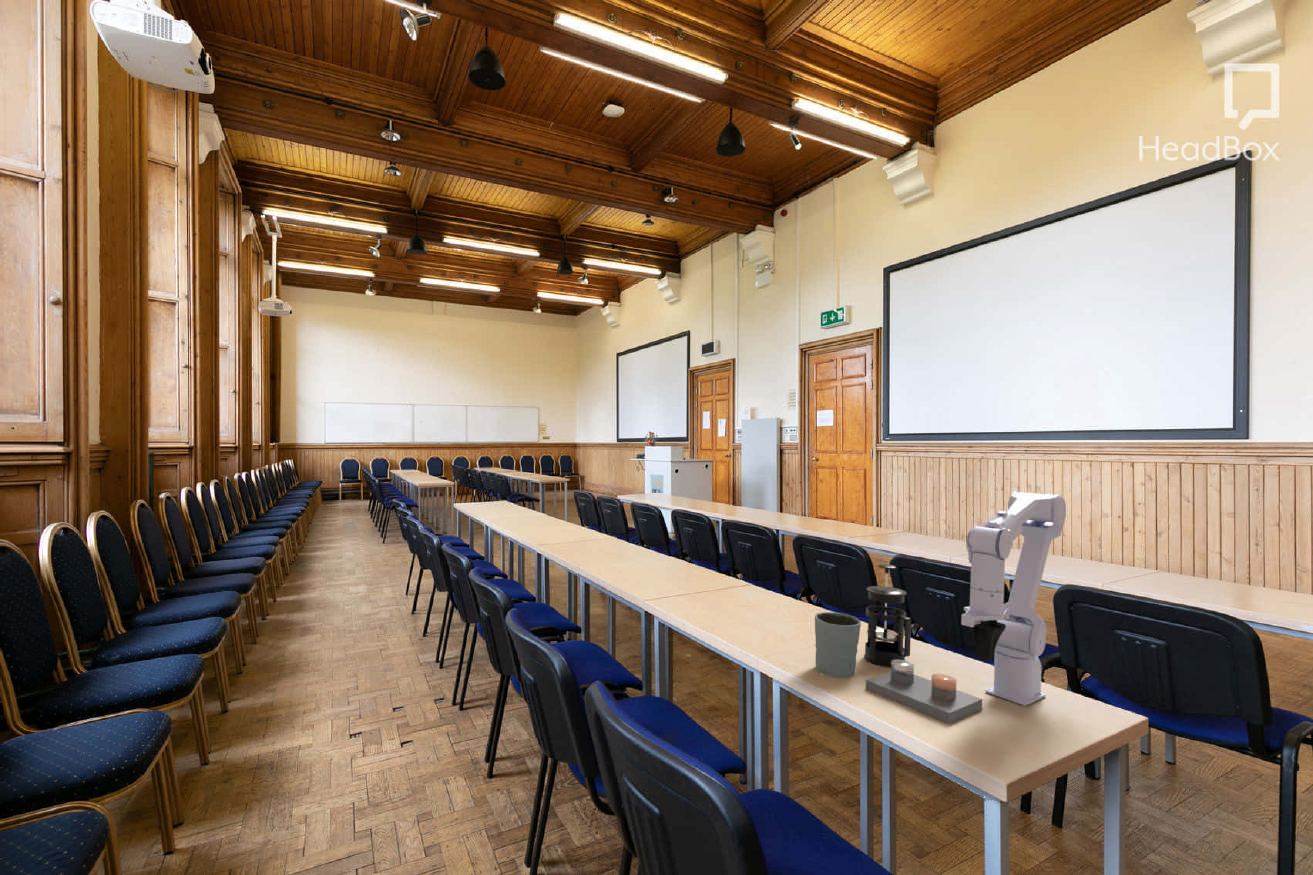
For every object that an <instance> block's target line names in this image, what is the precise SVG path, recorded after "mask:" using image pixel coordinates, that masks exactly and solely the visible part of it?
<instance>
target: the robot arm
mask: <svg viewBox="0 0 1313 875" xmlns="http://www.w3.org/2000/svg"><path fill="white" fill-rule="evenodd" d="M1066 516H1067V505H1066V500H1065V499H1064V497H1063V496H1062V494H1045V493H1042V494H1041V493H1033V492H1032V493H1030V492H1020V491H1013V492H1012V494H1010V496H1009V498H1008V502H1007V510H1006V511H1005V510H999V511H997V512H996V514H994V515H993V516H992V517H991V518H989V520H988V521H986V522H985V524H983V525H982V526H978V525H976V526H974V527H972V528H970V529H969V531H968V532H967V535H966V540H965V545H966V546H965V547H966V550H967V554H968V555H967V557H968V559H967V560H968V563H970V587H969V588H970V589H969V591H970V592H969V606H964V607H963V611H964V612H965V613H962V614H961V622H960V624H961V625H962V626H965V627H966V628H968V630H969V632H970V634H971V637H972V639H973V640H972V641H973V643H974V647H975V648H974V649H975V652H976V653H975V654H976V657H977V659H979V660H983V661H985V662H991V661H992V660H993V658H994V670H993V686H991V687H988V688H986V689H985V692H986V693H987V694H990V695H993V696H996V697H999V698H1001V699H1005V700H1008V701H1009V702H1010V701H1011V702H1013V703H1016V704H1019V705H1021V706H1027V705H1031V704H1032V703H1034V702H1036V701H1038V700H1040V699H1042V698H1045V697H1047V696H1046V695H1047V694H1046V693H1044V692H1042V663H1041V660H1040V658H1039V657H1040V656H1041V655H1042V654H1043V653H1044V651H1045V648H1046V642H1047V641H1046V640H1047V639H1046V638H1047V636H1046V632H1047V624H1046V621H1045V620H1044V618H1043V617H1041V615H1040V614H1038V613H1037V611H1035V608H1036V605H1037V604H1036V603H1037V600H1038V595H1039V592H1040V587H1041V583H1042V579H1043V574H1044V571H1045V565H1046V563H1047V558H1048V555H1049V554H1048V553H1049V551H1050V547H1051V543H1052V541H1053V540H1054V539H1056V538H1059V537H1061V534H1062V532H1063V529H1064V525H1065V520H1066ZM1020 535H1021V536H1023V542H1022V543H1023V544H1022V547H1021V551H1020V553H1019V554H1020V555H1019V559H1018V562H1017V565H1016V566H1017V567H1016V570H1015V574H1014V578H1013V582H1012V586H1011V590H1010V594H1009V598H1008V602H1007V601H1006V603H1004V598H1005V597H1004V596H1005V572H1006V571H1005V568H1006V567H1005V566H1006V565H1005V564H1006V559H1008V558H1009V556H1010V553H1011V550H1012V547H1013V545H1014V541H1015V540H1016V539H1017V538H1018V537H1019V536H1020Z"/></svg>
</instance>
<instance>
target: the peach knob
mask: <svg viewBox="0 0 1313 875" xmlns="http://www.w3.org/2000/svg"><path fill="white" fill-rule="evenodd" d="M931 681H932V686H934V687H935V688H938V689H941V690H946V691H953V690H957V678H955V677H953V676H951V675H949V674H943V673H933V674H931Z"/></svg>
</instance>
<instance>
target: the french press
mask: <svg viewBox="0 0 1313 875" xmlns="http://www.w3.org/2000/svg"><path fill="white" fill-rule="evenodd" d="M877 567H878V568H882V569H884V573H885V586H884V585H883V586H880V585H879V586H878V585H876V586H875V585H873V586H868V587H866V591H867V592H868V599H869V600H871V601H874V602H877V603H882V604H884V605H870V606H866V609H865V614H866V616H867V618H868V619H867V621H868V622H867V630H866V633H867V642H865V643H864V644H865V646H864V654H863V659H864V660H865V661H866V662H867V663H869V662H870V663H869V664H871V663H872V665H875V666H877V665H879V666H878V667H882V666H884V667H883V668H889V667H891V661H892V660H905V661H906V658H907V657H910V656H911V640H912V639H911V636H912V635H911V634H912V632H911V631H912V630H911V629H912V619H911V617H907V612H906V611H905V610H903V609H900V608H897V607H892V606H887V605H888V604H893V605H894V604H895V605H897V604H899V605H900V604H903V603H905V596H907V591H906V590H903V589H901V588H896V587H891V586H888V576H889V575H888V574H890V569H894V570H895V569H897V567H896V566H895V565H892V564H885V563H883V564H882V563H881V564H878V565H877ZM876 612H884V614H880V613H876ZM887 613H891V614H893V615H888V614H887ZM877 620H879V621H883V622H884V628H877ZM887 622H892V623H893V630H891V629H887Z"/></svg>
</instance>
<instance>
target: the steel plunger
mask: <svg viewBox="0 0 1313 875" xmlns="http://www.w3.org/2000/svg"><path fill="white" fill-rule="evenodd" d="M890 670H891V671H893V672H895V673H897V674H901V675H912V674H914V675H915V664H914V663H913V662H911V661H908V660H906V659H905V660H892V661H891V668H890Z"/></svg>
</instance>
